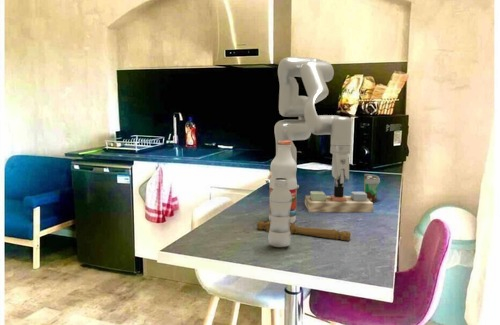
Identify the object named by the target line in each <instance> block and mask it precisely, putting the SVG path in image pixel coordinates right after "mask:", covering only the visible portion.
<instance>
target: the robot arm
mask: <svg viewBox="0 0 500 325" xmlns="http://www.w3.org/2000/svg"><path fill="white" fill-rule="evenodd" d="M277 76H278V82H279V93H278V111H279V112H278V113H279V115H281V116H282V117H287V118H297V117H298V119H283V120H278V121H277V122H276V123H275V125H274V127H273V128H274V138H275V155H276V154H277V150H278V146H277V141H279V140H287V141H291V147H290V150H291V154H292V157H293V159H294V160H295V162H296V163H297V158H298V157H297V147H296V146H295V144H294V142H293V141H305V140H308V139H310V136H311V134H313V135H315V136H319V135H320V136H323V135H328V136H329V135H330V148H329V149H330V150H329V153H330V154H331V155H332V161H331V176H332V177H333V178H334V188H333V190H334V192H333V195H334V196H335V197H343V195H344V183H345V181H348V180H349V179H350V157H349V156H350V154H351V151H352V150H351V148H352V147H351V146H352V124H353V123H352V121H353V120H352V118H350V117H349V116H341V115H335V114H334V115H333V114H331V115H330V114H329V115H328V114H323V115H322V114H321V115H320V114H319V115H318V113H317V111H316V106H315V104H317V103H319V102H321V101H323V100H324V99H326V98H327V96H329V92H330V91H329V88H328V85H327V83H329V82H330V81H332V80H333V78H334V76H335V71H334V67H333V65H332V64H331V63H330V62H329V61H326V60H323V59H320V58H315V57H304V56H303V57H302V56H288V57H284V58H282V59H281V60H280V61H279V64H278V68H277ZM295 77H298V78H301V80H302V83H303V86H304V89H305V91H306V94H307V96H306V95H299V83H298V82H297V79H296V78H295ZM295 177H296V178H297V173H296V174H295ZM265 183H266V184H270V178H265ZM299 188H300V184H298V183H297V190H298V189H299Z"/></svg>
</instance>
